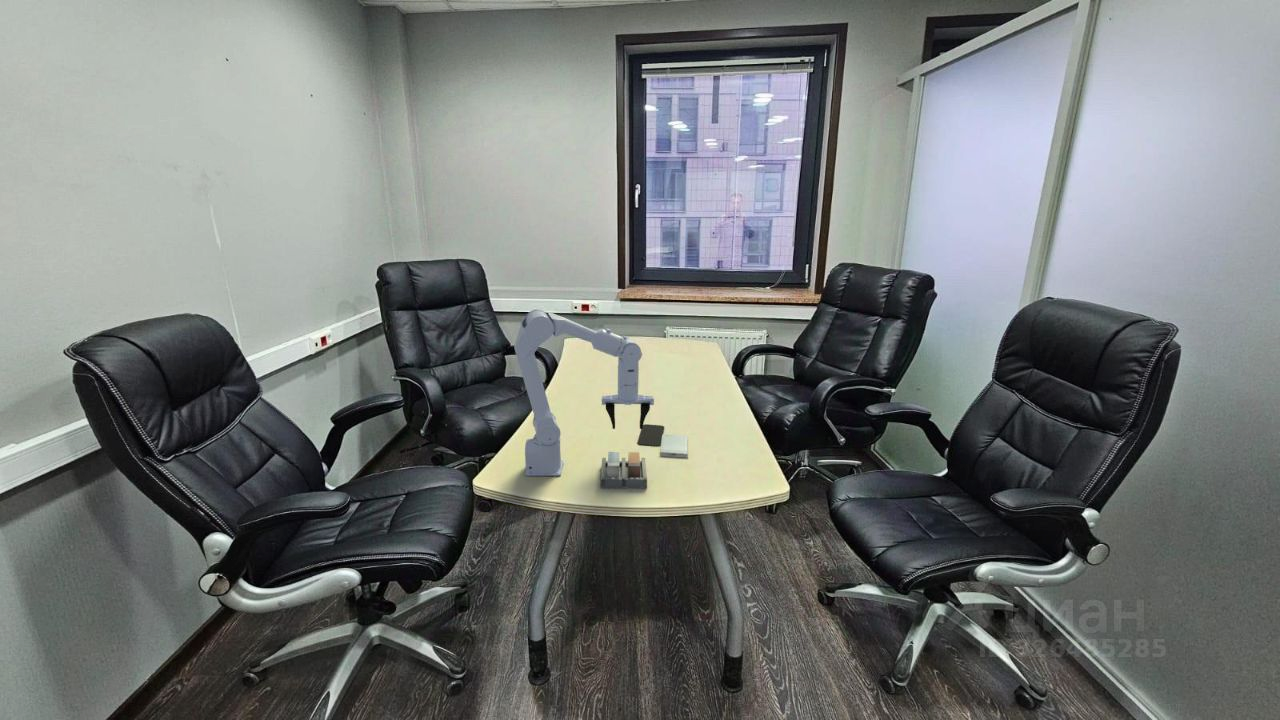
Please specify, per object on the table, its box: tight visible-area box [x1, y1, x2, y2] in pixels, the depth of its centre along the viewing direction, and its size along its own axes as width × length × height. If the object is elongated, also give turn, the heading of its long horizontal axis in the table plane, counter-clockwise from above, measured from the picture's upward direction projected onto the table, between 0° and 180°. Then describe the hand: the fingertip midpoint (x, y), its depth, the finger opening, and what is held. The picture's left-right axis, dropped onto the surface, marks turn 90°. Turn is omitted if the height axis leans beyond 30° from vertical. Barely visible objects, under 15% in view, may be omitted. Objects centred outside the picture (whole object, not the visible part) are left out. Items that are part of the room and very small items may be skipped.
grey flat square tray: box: [600, 457, 648, 489], centre depth 141 cm, size 12×12×3 cm
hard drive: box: [659, 433, 689, 458], centre depth 159 cm, size 2×8×12 cm
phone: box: [636, 423, 665, 447], centre depth 167 cm, size 7×1×15 cm
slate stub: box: [607, 451, 620, 478], centre depth 141 cm, size 3×8×5 cm, turn 2°
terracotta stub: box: [627, 451, 641, 478], centre depth 141 cm, size 3×8×5 cm, turn 2°
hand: (627, 427), depth 148 cm, fingers open, 7 cm apart
